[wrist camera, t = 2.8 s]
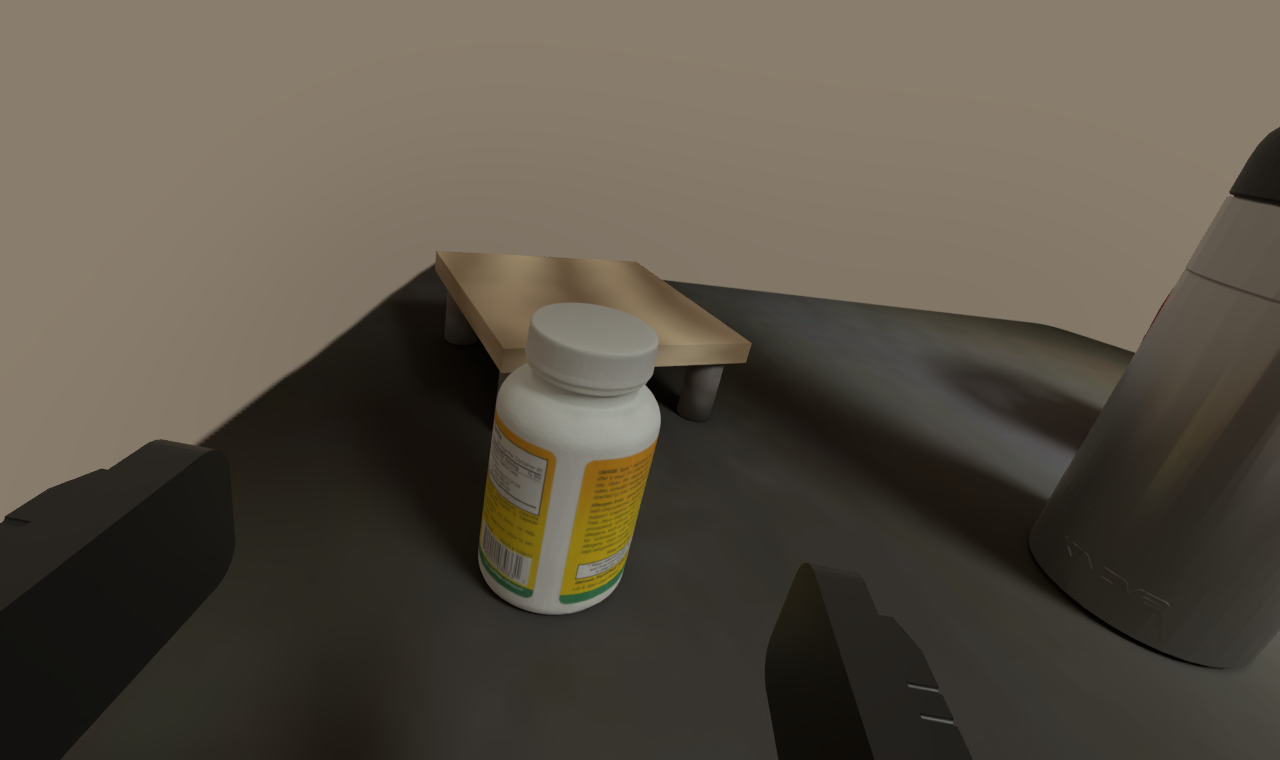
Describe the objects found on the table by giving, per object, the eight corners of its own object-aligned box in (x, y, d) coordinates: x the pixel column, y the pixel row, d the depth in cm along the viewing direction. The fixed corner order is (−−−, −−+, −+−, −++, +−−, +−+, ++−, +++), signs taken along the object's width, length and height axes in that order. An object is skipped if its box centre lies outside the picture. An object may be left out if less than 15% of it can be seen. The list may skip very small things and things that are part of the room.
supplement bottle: (459, 608, 21) (486, 341, 17) (494, 507, 26) (521, 282, 22) (620, 632, 21) (685, 378, 17) (625, 528, 26) (676, 312, 22)
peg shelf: (622, 328, 47) (636, 261, 45) (727, 424, 37) (751, 343, 34) (431, 329, 40) (436, 250, 38) (492, 448, 30) (503, 348, 27)
